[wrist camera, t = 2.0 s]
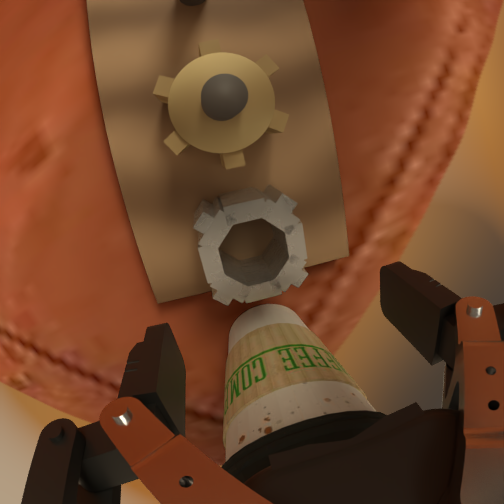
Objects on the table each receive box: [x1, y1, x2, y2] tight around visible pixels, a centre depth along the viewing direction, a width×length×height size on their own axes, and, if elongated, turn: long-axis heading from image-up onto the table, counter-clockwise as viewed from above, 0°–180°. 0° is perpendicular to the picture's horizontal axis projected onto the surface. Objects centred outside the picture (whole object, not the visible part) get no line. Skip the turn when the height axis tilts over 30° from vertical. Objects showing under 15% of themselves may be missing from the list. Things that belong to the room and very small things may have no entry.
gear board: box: [87, 0, 349, 303], centre depth 15 cm, size 26×14×8 cm, turn 12°
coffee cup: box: [221, 304, 387, 484], centre depth 18 cm, size 10×10×15 cm
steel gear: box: [193, 184, 308, 306], centre depth 19 cm, size 6×6×4 cm
